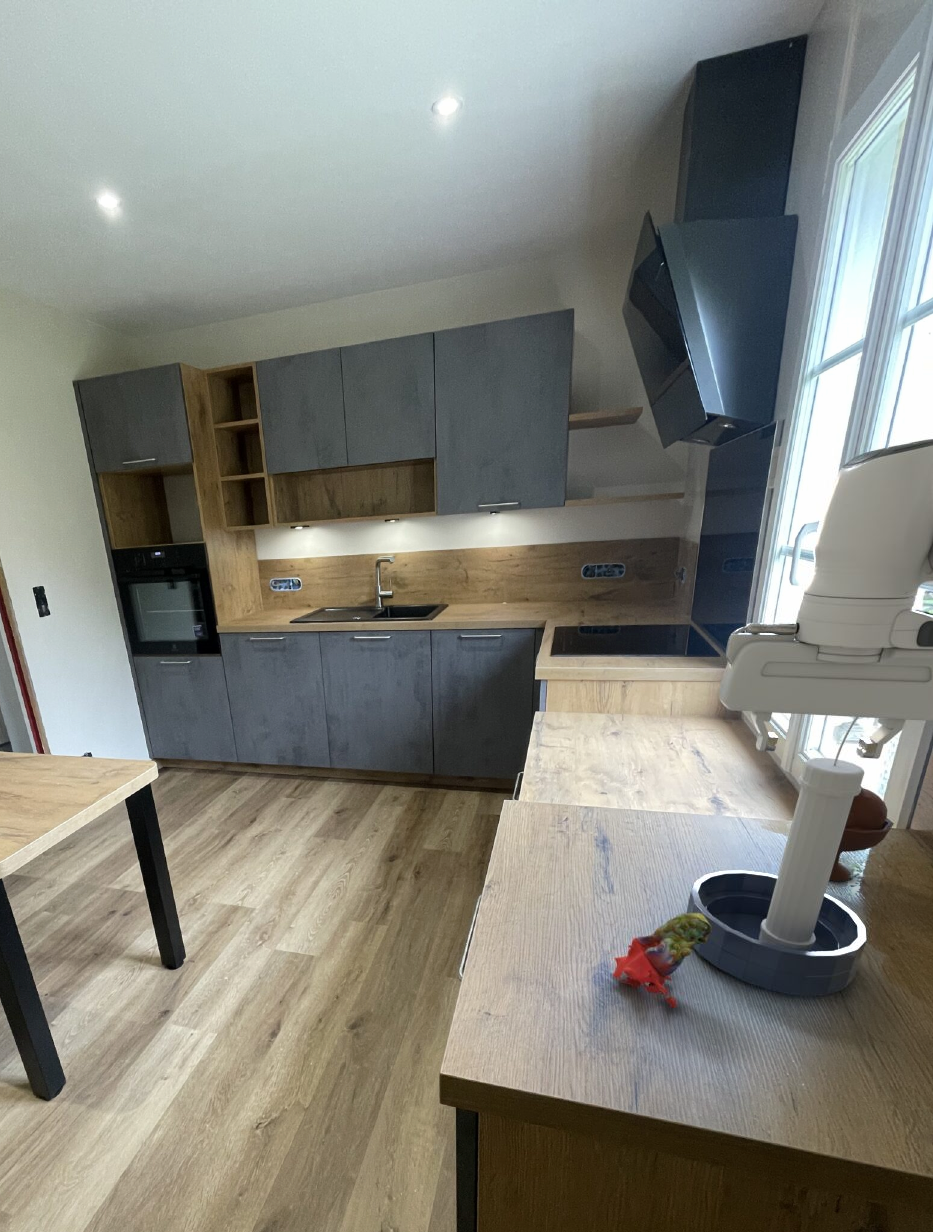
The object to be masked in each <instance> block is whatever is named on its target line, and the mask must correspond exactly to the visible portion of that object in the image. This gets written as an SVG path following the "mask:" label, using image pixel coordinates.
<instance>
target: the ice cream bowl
mask: <svg viewBox="0 0 933 1232" xmlns="http://www.w3.org/2000/svg"><path fill="white" fill-rule="evenodd" d="M894 825H895V823H894V822H892V820H890V819H889V818H888V807H887V805H886V802H885V801H884V800H883V799H882V798H881V797H880V796H879V795H878V794H877V793H875V792H874V791H872V790H869V789H867V788H865V787H862V788H861V792H860V793H859V795H857V796H854V798H853V801H852V805H851V808H850V811H849V815H848V818H847V821H846V825H845V828H844V831H843V835H842V838H841V841H840V845H839V848H838V851H837V855H836V858H835V861H834V865H833V868H832V871H831V875H830V878H829V881H834V882H844V881H845V882H847V881H849V880H850V878H851V877H852V873H851V871H850V870H849V869H847V867H846V866H845V865H843V864H841V862H839V861H840V857H841V854H842V853H849V852H859V851H866V850H868V849H871V848H874V847H877V846H878V845H879V844H880V843H881V842H883V840H884V839H885V838H886V836H887V835H888V834H889V832H890V831H891V829H892V828H893V826H894Z"/></svg>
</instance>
